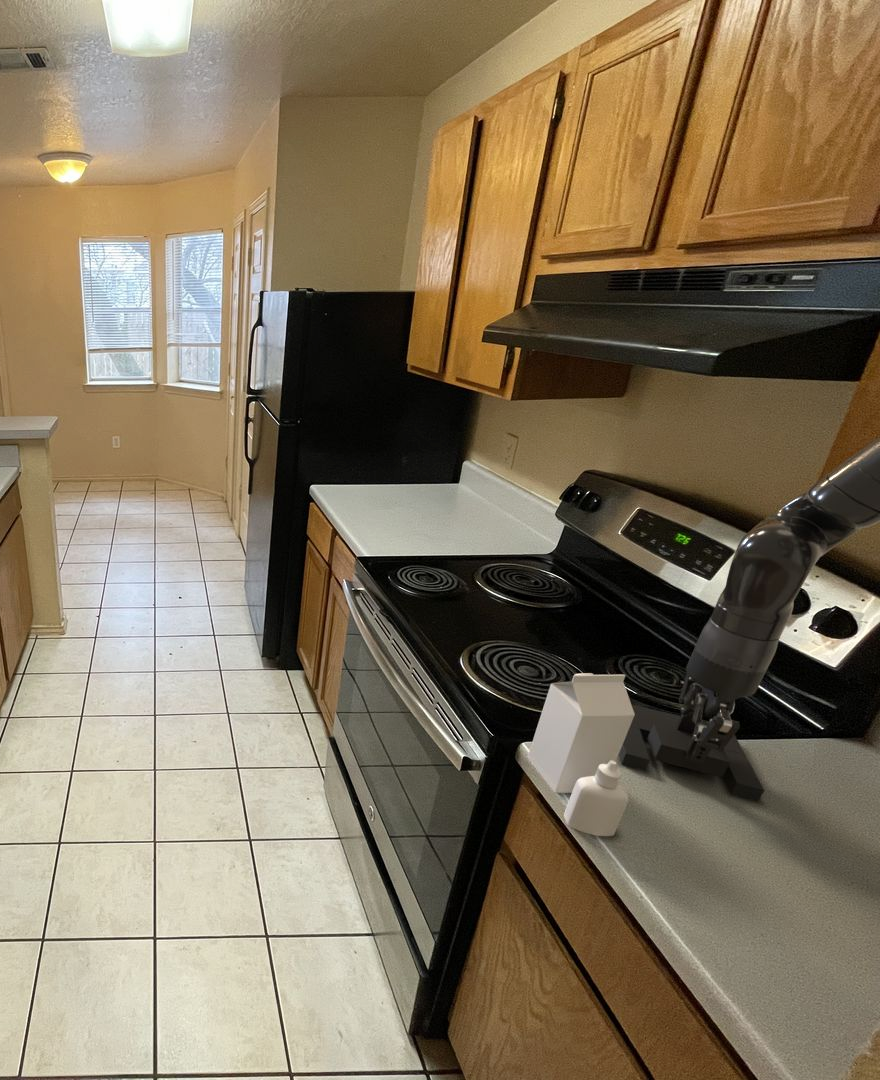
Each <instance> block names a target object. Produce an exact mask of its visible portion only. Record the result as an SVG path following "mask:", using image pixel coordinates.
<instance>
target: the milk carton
mask: <svg viewBox="0 0 880 1080" xmlns="http://www.w3.org/2000/svg"><path fill="white" fill-rule="evenodd" d="M625 678H626V674H621V673H620V674H594V673H592V672H587V673H586V672H585V673H583V672H582V673H581V672H580V673H574V675H573V676H572V679H571V681H563V682H551V683H550V686H549V688H548V692H547V695H546V698H545V701H544V705H543V708H542V711H541V713H540V717H539V719H538V723H537V727H536V729H535V733H534V736H533V739H532V741H531V744H530V748H529V751H528V754H527V759H528V760H529V761H530V762H531V763H532V765H533V766H534V768H535V769H536V770H537V772H538V773H539V774H540V776H541V777H542V778H543V779H544V781H545V782H546V783H547V784H548V785H549V787H550V788H551V790H552V791H553V792H554V793H555V794H572V791H573V789H574V786H575V784H576V782H577V780H578V779H580V778H583V777H589V776H595V774H596V772H597V769H598V767H599V765H600V764H608V763H609V762H610V761H611V760H612V761H615V762H616V763H617V760H618V757H619V752H620V750H621V747H622V745H623V742H624V740H625V737H626V735H627V732H628V730H629V727H630V725H631V722H632V720H633V717H634V715H635V714H634V711H633V708H632V705H633V704H632V703H631V700H630V696H629V694H628V692H627V688H626V686H625V685H626V684H625V682H624V680H625ZM631 704H632V705H631Z"/></svg>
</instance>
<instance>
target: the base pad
mask: <svg viewBox="0 0 880 1080" xmlns="http://www.w3.org/2000/svg"><path fill="white" fill-rule="evenodd" d="M631 705H632V708H633V711H634V714H635V715H634V717H633V720H632V722H631V725H630V727H629V730H628V732H627V735H626V737H625V740H624V742H623V745H622V747H621V750H620V752H619V755H618V757H619V761H620V765H622V766H625V767H629V768H633V769H637V770H641V771H644V772H646V770H647V768H648V765H649V764H650V761H651V759H650V756H649V755H650V754H649V752H648V749H647V746H646V744H645V743H649V742H648V739H647V738H648V736H649V733H650V731H651V729H652V726H653V724H656V725H660V726H664V727H668V728H672V729H675V728H676V726H677V724H678V722H679V719H680V717H681V715H677V714H675V713H674V714H673V713H669V712H665V711H661V710H656V709H653V708H648V707H644V706H640V705H636V704H632V703H631ZM704 730H705V728H703V730H702V733H703V731H704ZM702 733H701V734H702ZM724 751H725V753H726V755H727V757H728V759H729V761H730V763H729V765H728V767H727V769H726V771H725V773H724V775H723V777H722V778H723V780H724V782H725V784H726V786H727V789H728V791H729V793H730V795H733V796H735V797H740V798H743V799H747V800H750V801H754V802H759V801H760V800H761V798H762V797H763V794H764V792H765V788H764V786H763V785H762V783H761V781H760V779H759V777H758V775H757V774H756V771H755V769H754V768H753V766H752V764H751V762H750V761H749V758H748V757H747V755H746V753H745V751H744V750H743V747H742V746H741V744H740V742H739V740H738V739H737V737H736V734H735V735H734V736H733V737H732V739H731V740H730V741H729V742H728V744H727V745H726V746H725V748H724Z"/></svg>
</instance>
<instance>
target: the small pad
mask: <svg viewBox="0 0 880 1080" xmlns="http://www.w3.org/2000/svg"><path fill="white" fill-rule="evenodd" d="M692 735H693V734H692V733H688V732H684V731H680V730H676V729H672V728H668V727H664V726H660V725H656V724H653V726H652V729H651V731H650V733H649V736H648V738H647V739H648V742H647V743H648V745H649V747H650V750H651V753H652V755H653V758H654V761H655V760H656V761H658V762H663V763H666V764H670V765H674V766H678V767H681V768H686V769H690V770H693V771H697V772H701V773H704V774H708V775H712V776H716V777H720V778H723V775H724V773H725V771H726V769H727V767H728V765H729V763H730V761H729V759H728V757H727V755H726V753H725V751H724V749H723V750H722V751H720V750H716V749H712V748H711V750H710V752H709V754H708V756H707V758H706V760H705V762H704V763H696V762H692V761H689V760H687V759H686V758H685V756H684V754H685V752H686V749H687V747H688V745H689V742H690V740H691V738H692Z"/></svg>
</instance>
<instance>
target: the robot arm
mask: <svg viewBox="0 0 880 1080" xmlns="http://www.w3.org/2000/svg"><path fill="white" fill-rule="evenodd" d="M878 523H880V436H879V437H877V438H875V439H874V440H872V441H871V442H870V443H868V444H866V445H864V447H862V448H861V449H859V450H858V451H856V452H855V453H854V454H852V455H851V456H849V457H848V458H847V459H845V460H844V461H842V463H840V464H838V465H837V466H836V467H835V468H833V469H832V470H830V471H829V472H828V473H827V474H825V475H824V476H822V477H821V478H820V479H818V480H817V482H815V483H814V484H813V485H812V486H810V488H809V489H808V490H807V491H805V492H804V493H803V494H800V495H799V496H797V497H796V498H794V499H793V500H791V501H789V502H788V503H786V504H785V505H783V506H782V507H780V508H779V509H777V510H776V511H775V512H772V513H771V514H770V515H769V516H766V517H765V518H764V519H763V520H762V521H760V522H759V523H757V524H756V525H755V526H754V527H753V528H752V529H751V530H749V531H748V532H747V533H746V534H744V536H743V537H742V538H741V539H740V542H739V543H738V545H737V547H736V549H735V552H734V554H733V556H732V560H731V563H730V566H729V570H728V574H727V577H726V583H725V586H724V588H723V590H722V591H721V593H720V595H719V596H718V599H717V601H716V604H715V606H714V608H713V611H712V613H711V615H710V617H709V619H708V621H707V622H706V623H705V625H704V626H703V628H702V630H701V632H700V635H699V637H698V639H697V641H696V644H695V645H694V649H693V650H692V653H691V655H690V658H689V659H688V662H687V664H686V667H685V672H686V675H685V677H684V681H683V685H682V688H681V691H680V694H679V697H678V703H679V704H682V705H681V707H680V714H681V715H680V716H681V717H680V719H679V722H678V724H677V726H676V728H675V729H676V730H680V731H684V732H688V733H692V734H693V735H692V738H691V740H690V742H689V745H688V747H687V749H686V752H685V754H684V756H685V758H686V759H687V760H689V761H692V762H696V763H704V762H705V760H706V758H707V756H708V754H709V752H710V750H711V748H712V749H716V750H720V751H722V750H723V749H724V748H725V746H726V745H727V744H728V742H729V741H730V740H731V739H732V737H733V736H734V735H735V736H736V734H737V733H738V731H739V729H740V727H741V724H740V721H738V720H734V719H732V718H731V715H732V714H733V713H734V710H735V706H736V700H738V699H740V698H747V697H751V696H754V694H756V693H757V690H758V688H759V686H760V684H761V682H762V680H763V679H764V676H765V674H766V672H767V670H768V669H769V666H770V665H771V663H772V660H773V659H774V656H775V654H776V652H777V648H778V645H779V641H780V639H781V637H782V634H783V632H784V631H785V628H786V626H787V624H788V623H789V620H790V618H791V616H792V613H793V610H794V606H795V605H794V603H795V602H794V601H795V600H796V597H797V596H798V594H799V592H800V590H801V589H802V587H803V585H804V584H805V582H806V580H807V578H808V576H809V574H810V573H811V572H812V570H813V568H814V567H815V565H816V563H817V562H818V561H819V559H820V558H821V557H823V556H824V555H825V554H826V553H828V552H829V551H831V550H832V549H833V548H835V547H836V546H838V545H839V544H841V543H843V542H844V541H845V540H846V539H848V538H849V537H851V536H853V535H854V534H855V533H857V532H858V531H860V530H861V529H865V528H870V527H872V526H874V525H877V524H878ZM705 719H708V720H705ZM703 728H705V730H704V731H703V733H702V730H703ZM701 733H702V734H701Z"/></svg>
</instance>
